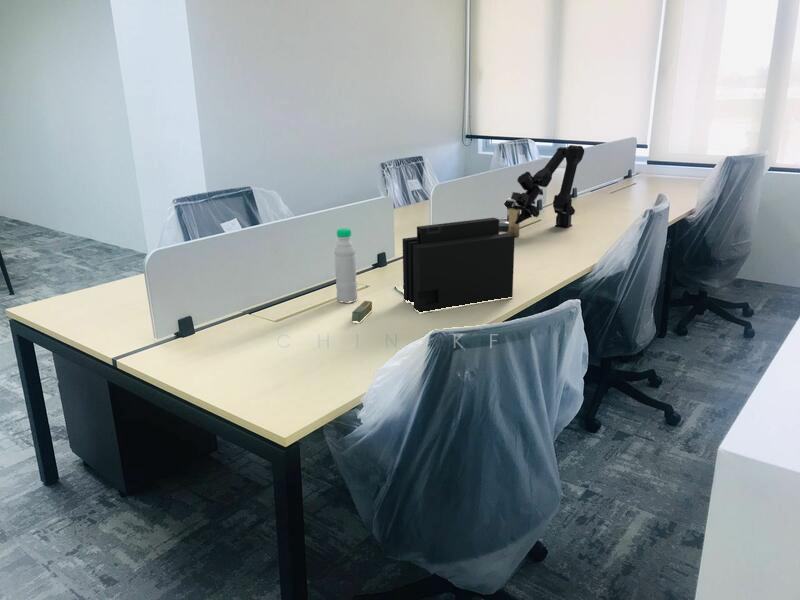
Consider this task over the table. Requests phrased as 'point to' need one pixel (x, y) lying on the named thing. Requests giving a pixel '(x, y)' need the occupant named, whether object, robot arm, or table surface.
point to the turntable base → (503, 228)
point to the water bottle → (345, 267)
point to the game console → (457, 264)
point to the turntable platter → (503, 223)
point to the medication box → (361, 311)
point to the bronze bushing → (513, 221)
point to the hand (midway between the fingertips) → (511, 222)
